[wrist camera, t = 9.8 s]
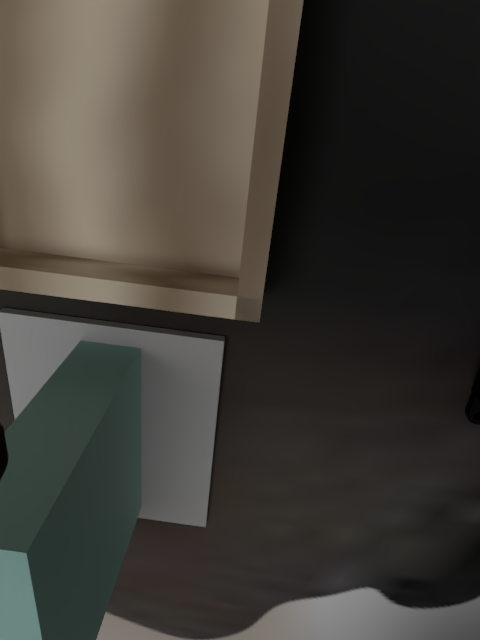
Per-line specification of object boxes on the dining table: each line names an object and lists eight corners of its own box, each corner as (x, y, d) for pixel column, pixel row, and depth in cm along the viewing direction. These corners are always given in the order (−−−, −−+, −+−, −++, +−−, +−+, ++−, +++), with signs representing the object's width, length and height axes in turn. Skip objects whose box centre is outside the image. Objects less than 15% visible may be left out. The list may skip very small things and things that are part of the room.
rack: (328, -198, 13) (340, -272, 11) (262, 293, 21) (259, 322, 18) (-314, -260, 14) (-456, -344, 11) (-160, 239, 21) (-224, 260, 18)
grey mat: (225, 336, 22) (223, 341, 21) (206, 520, 28) (205, 527, 27) (3, 307, 22) (-3, 311, 22) (31, 495, 28) (27, 501, 27)
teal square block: (141, 348, 22) (26, 552, 12) (141, 506, 27) (60, 742, 17) (80, 340, 22) (-83, 537, 12) (92, 499, 27) (-17, 730, 17)
